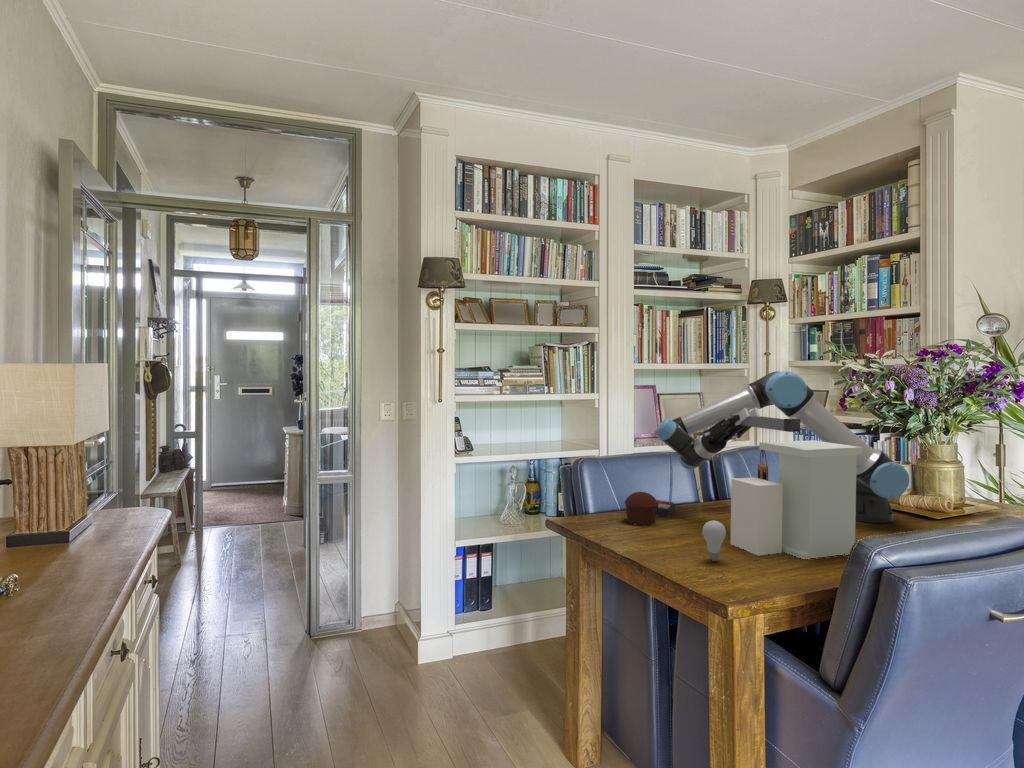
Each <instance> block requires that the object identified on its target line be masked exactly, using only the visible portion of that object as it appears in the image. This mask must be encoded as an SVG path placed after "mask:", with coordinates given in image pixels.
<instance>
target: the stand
mask: <svg viewBox="0 0 1024 768" xmlns="http://www.w3.org/2000/svg"><path fill="white" fill-rule="evenodd" d="M758 449H759V450H760V451H761V450H762V451H767V452H772V453H773V452H774V453H778V483H780V484H783V497H782V553H784V552H785V553H784V554H786V553H787V555H789V554H790V555H789V556H791V555H793V556H792V557H794V556H796V557H795V558H797V557H798V558H797V559H799V558H801V559H800V560H802V559H808V560H811V559H810V558H816V559H819V558H818V557H825V558H827V557H826V556H834V557H836V556H835V555H843V556H848V554H849V551H850V549H851V548H852V546H853V545H854V543H855V544H856V520H855V517H856V458H857V455H859V454H862V447H857V446H850V445H843V444H836V443H829V442H823V441H822V440H815V439H813V440H811V439H810V440H791V441H789V440H788V441H787V440H786V441H785V440H784V441H783V440H782V441H765V442H763V441H762V442H761V441H760V442H759V446H758ZM844 554H845V555H844Z"/></svg>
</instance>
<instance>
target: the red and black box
mask: <svg viewBox="0 0 1024 768" xmlns="http://www.w3.org/2000/svg"><path fill="white" fill-rule="evenodd" d="M656 501H657V502H658V504H659V505H658V508H657V514H656V515H659V516H658V517H664V516H667V517H666V518H669V517H670V516H671V515H672V514H673V513H674V512H675V511H674V510H675V507H676V503H674V502H672V501H667V500H665V501H664V500H659V499H656ZM673 511H674V512H673Z"/></svg>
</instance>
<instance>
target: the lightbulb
mask: <svg viewBox="0 0 1024 768" xmlns="http://www.w3.org/2000/svg"><path fill="white" fill-rule="evenodd" d="M701 530H702V532H701V533H702V536H703V538H704V540H705V542H706V546H707V551H708V559H709V560H710V561H712V562H716V561H718V560H719V558H720V553H721V547H722V543H723V542H724V541H725V538H726V537H727V530H726V527H725V525H724V524H723V523H722V522H720V521H718V520H713V519H712V520H709V521H707V522H705V524H704V525H703V527H702V529H701Z"/></svg>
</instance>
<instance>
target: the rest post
mask: <svg viewBox="0 0 1024 768" xmlns="http://www.w3.org/2000/svg"><path fill="white" fill-rule="evenodd" d="M730 480H731V482H730V484H731V485H730V545H731V546H733V545H734V547H736V548H738V547H739V548H738V549H741V550H743V549H744V551H745V550H746V552H748V553H751V554H753V555H756V556H758V557H760V556H768V554H770V555H776V553H779V554H782V553H783V552H782V497H783V484H780V483H779V482H776V481H772V480H771V481H770V480H768V481H767V480H763V479H759V478H758V477H754V476H753V477H736V478H730Z"/></svg>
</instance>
